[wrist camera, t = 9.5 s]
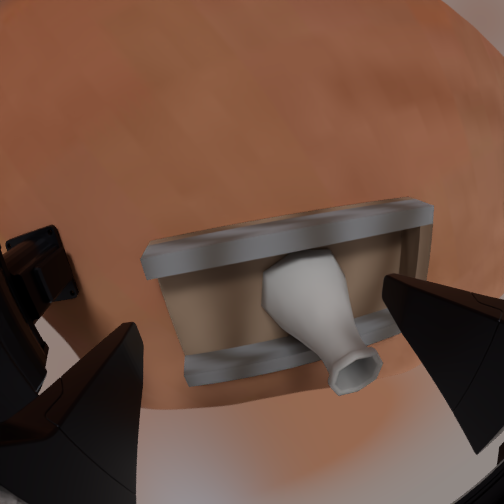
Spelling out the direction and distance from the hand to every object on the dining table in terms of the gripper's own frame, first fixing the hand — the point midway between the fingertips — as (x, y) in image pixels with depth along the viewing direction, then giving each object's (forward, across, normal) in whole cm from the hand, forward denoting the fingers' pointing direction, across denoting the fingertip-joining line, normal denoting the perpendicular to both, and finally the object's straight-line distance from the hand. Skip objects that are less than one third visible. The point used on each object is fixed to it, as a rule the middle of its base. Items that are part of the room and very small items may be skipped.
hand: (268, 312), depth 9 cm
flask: (+11, -5, +6) cm, 14 cm away
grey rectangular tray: (+12, -5, +6) cm, 14 cm away
